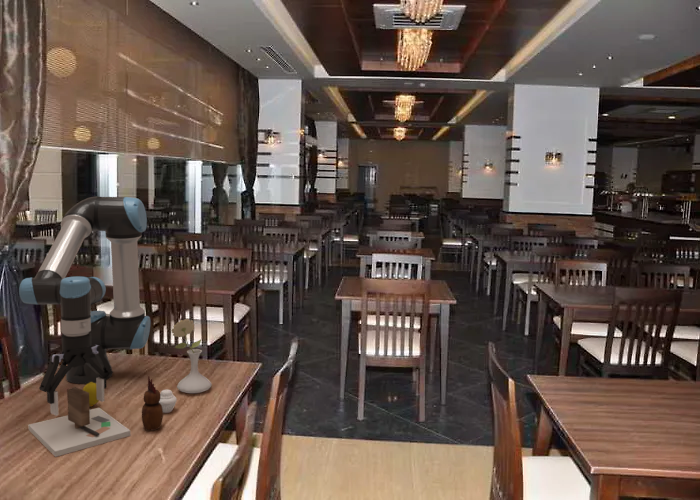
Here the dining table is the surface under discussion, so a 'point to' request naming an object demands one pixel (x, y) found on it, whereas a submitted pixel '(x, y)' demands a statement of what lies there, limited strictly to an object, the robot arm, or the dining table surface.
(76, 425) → the dark wooden block
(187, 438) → the dining table surface
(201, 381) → the flower in vase
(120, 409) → the dining table surface
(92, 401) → the lemon
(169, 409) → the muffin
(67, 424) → the dial board
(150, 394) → the wooden figurine
